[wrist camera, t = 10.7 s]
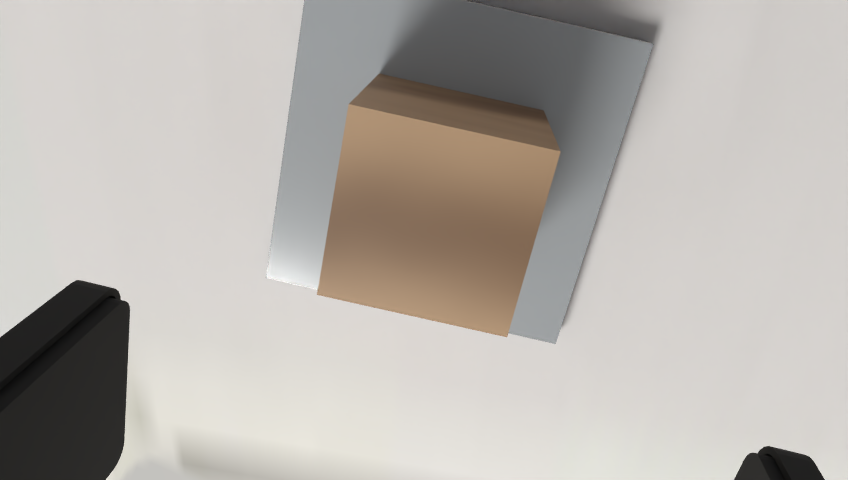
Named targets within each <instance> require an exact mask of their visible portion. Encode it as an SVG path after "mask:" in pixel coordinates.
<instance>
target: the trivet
mask: <svg viewBox="0 0 848 480" xmlns="http://www.w3.org/2000/svg"><path fill="white" fill-rule="evenodd" d="M652 47H653V44H652V43H650V42H647V41H642V40H638V39H633V38H629V37H625V36H620V35H616V34H612V33H607V32H603V31H598V30H594V29H590V28H585V27H581V26H577V25H572V24H568V23H564V22H559V21H555V20H550V19H546V18H542V17H537V16H533V15H529V14H524V13H520V12H515V11H511V10H507V9H502V8H498V7H494V6H489V5H485V4H480V3H476V2H472V1H467V0H304V7H303V14H302V22H301V29H300V36H299V43H298V50H297V58H296V65H295V72H294V79H293V86H292V94H291V101H290V108H289V115H288V122H287V130H286V137H285V144H284V151H283V158H282V166H281V173H280V180H279V187H278V194H277V202H276V209H275V216H274V223H273V230H272V238H271V245H270V252H269V259H268V266H267V274H266V278H268V279H273V280H277V281H281V282H286V283H290V284H295V285H299V286H303V287H308V288H312V289H317V290H318V285H319V279H320V273H321V267H322V261H323V255H324V249H325V243H326V237H327V231H328V225H329V219H330V213H331V207H332V201H333V195H334V189H335V183H336V177H337V171H338V165H339V159H340V153H341V147H342V141H343V135H344V129H345V123H346V117H347V111H348V105H349V103H350V102H351V101H352V100H353V99H354V98H355V97H356V96H357V95H358V94H359V93H360V92H361V91H362V90H363V89H364V88H365V87H366V86H367V85H368V84H369V83H370V82H371V81H372V80H373V79H374V78H375V77H376V76H377V75H378V74H384V75H388V76H393V77H397V78H401V79H406V80H410V81H415V82H419V83H424V84H428V85H433V86H437V87H442V88H446V89H451V90H455V91H460V92H464V93H469V94H473V95H478V96H482V97H487V98H491V99H495V100H500V101H504V102H509V103H513V104H518V105H522V106H527V107H531V108H536V109H540V110H544V112H545V115H546V117H547V120H548V122H549V124H550V127H551V129H552V132H553V134H554V136H555V139H556V141H557V144H558V146H559V149H560V151H561V152H560V156H559V159H558V163H557V166H556V169H555V173H554V176H553V180H552V183H551V187H550V190H549V194H548V197H547V201H546V204H545V208H544V211H543V214H542V218H541V221H540V225H539V228H538V232H537V235H536V239H535V242H534V246H533V249H532V253H531V256H530V259H529V263H528V266H527V270H526V273H525V277H524V280H523V284H522V287H521V291H520V294H519V298H518V301H517V305H516V308H515V311H514V315H513V318H512V322H511V325H510V329H509V332H508V333H510V334H514V335H518V336H523V337H527V338H532V339H536V340H540V341H545V342H549V343H554V344H556V341H557V338H558V335H559V332H560V329H561V326H562V323H563V320H564V317H565V313H566V310H567V307H568V304H569V301H570V298H571V295H572V292H573V289H574V286H575V283H576V280H577V277H578V274H579V271H580V267H581V264H582V261H583V258H584V255H585V252H586V249H587V246H588V243H589V240H590V237H591V234H592V231H593V228H594V225H595V222H596V218H597V215H598V212H599V209H600V206H601V203H602V200H603V197H604V194H605V191H606V188H607V185H608V182H609V179H610V176H611V172H612V169H613V166H614V163H615V160H616V157H617V154H618V151H619V148H620V145H621V142H622V139H623V136H624V133H625V130H626V126H627V123H628V120H629V117H630V114H631V111H632V108H633V105H634V102H635V99H636V96H637V93H638V90H639V87H640V84H641V81H642V77H643V74H644V71H645V68H646V65H647V62H648V59H649V56H650V53H651V50H652Z"/></svg>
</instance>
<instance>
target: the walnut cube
mask: <svg viewBox="0 0 848 480" xmlns="http://www.w3.org/2000/svg"><path fill="white" fill-rule="evenodd" d="M560 152H561V151H560V149H559V146H558V144H557V141H556V139H555V136H554V134H553V132H552V129H551V127H550V124H549V122H548V120H547V117H546V115H545V112H544V110H540V109H536V108H531V107H527V106H522V105H518V104H513V103H509V102H504V101H500V100H495V99H491V98H487V97H482V96H478V95H473V94H469V93H464V92H460V91H455V90H451V89H446V88H442V87H437V86H433V85H428V84H424V83H419V82H415V81H410V80H406V79H401V78H397V77H393V76H388V75H384V74H378V75H377V76H376V77H375V78H374V79H373V80H372V81H371V82H370V83H369V84H368V85H367V86H366V87H365V88H364V89H363V90H362V91H361V92H360V93H359V94H358V95H357V96H356V97H355V98H354V99H353V100H352V101H351V102H350V103H349V105H348V111H347V117H346V123H345V129H344V135H343V141H342V147H341V153H340V159H339V165H338V171H337V177H336V183H335V189H334V195H333V201H332V207H331V213H330V219H329V225H328V231H327V237H326V243H325V249H324V255H323V261H322V267H321V273H320V279H319V285H318V292H317V295H321V296H325V297H330V298H334V299H338V300H343V301H347V302H352V303H356V304H361V305H365V306H370V307H374V308H379V309H383V310H388V311H392V312H397V313H401V314H406V315H410V316H415V317H419V318H424V319H428V320H432V321H437V322H441V323H446V324H450V325H455V326H459V327H464V328H468V329H473V330H477V331H482V332H486V333H491V334H495V335H500V336H504V337H507V336H508V332H509V329H510V325H511V322H512V318H513V315H514V311H515V308H516V305H517V301H518V298H519V294H520V291H521V287H522V284H523V280H524V277H525V273H526V270H527V266H528V263H529V259H530V256H531V253H532V249H533V246H534V242H535V239H536V235H537V232H538V228H539V225H540V221H541V218H542V214H543V211H544V208H545V204H546V201H547V197H548V194H549V190H550V187H551V183H552V180H553V176H554V173H555V169H556V166H557V163H558V159H559V156H560Z"/></svg>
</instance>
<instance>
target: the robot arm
mask: <svg viewBox="0 0 848 480" xmlns="http://www.w3.org/2000/svg"><path fill="white" fill-rule="evenodd" d="M129 319H130V307H129V304H128V303H127V302H126V301H122V300H121V299H120V294H119V291H118V290H116V289H114V288H110V287H106V286H102V285H98V284H94V283H90V282H85V281H81V280H76V281H74V282H73V283H71V284H70V285H68V286H67V287H66V288H64V289H63V290H62V291H60V292H59V293H58V294H56V295H55V296H54V297H53V298H51V299H50V300H49V301H47V302H46V303H45V304H43V305H42V306H41V307H39V308H38V309H37V310H36V311H34V312H33V313H32V314H30V315H29V316H28V317H26V318H25V319H24V320H22V321H21V322H20V323H18V324H17V325H16V326H15V327H13V328H12V329H11V330H9V331H8V332H7V333H5V334H4V335H3V336H1V337H0V480H106V478H107V477H108V476H109V475H110V473H111V472H112V471H113V469H114V468H115V466H116V465H117V463H118V461H119V459H120V456H121V453H122V450H123V446H124V434H125V411H126V388H127V365H128V342H129ZM734 480H825V479H824V478H823V476H822V474H821V473H820V471H819V469H818V468H817V466H816V464H815V463H814V461H813V460H812V459H811V458H810V457H809V456H806V455H803V454H799V453H795V452H791V451H787V450H783V449H778V448H774V447H770V446H767V447H764V448H762V449H761V450H760V451H759V452H758V454H757V453H750V454H749V455H747V456H746V458H745V459H744V461H743V463H742V465H741V467H740V469H739V471H738V473H737V475H736V477H735V479H734Z"/></svg>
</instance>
